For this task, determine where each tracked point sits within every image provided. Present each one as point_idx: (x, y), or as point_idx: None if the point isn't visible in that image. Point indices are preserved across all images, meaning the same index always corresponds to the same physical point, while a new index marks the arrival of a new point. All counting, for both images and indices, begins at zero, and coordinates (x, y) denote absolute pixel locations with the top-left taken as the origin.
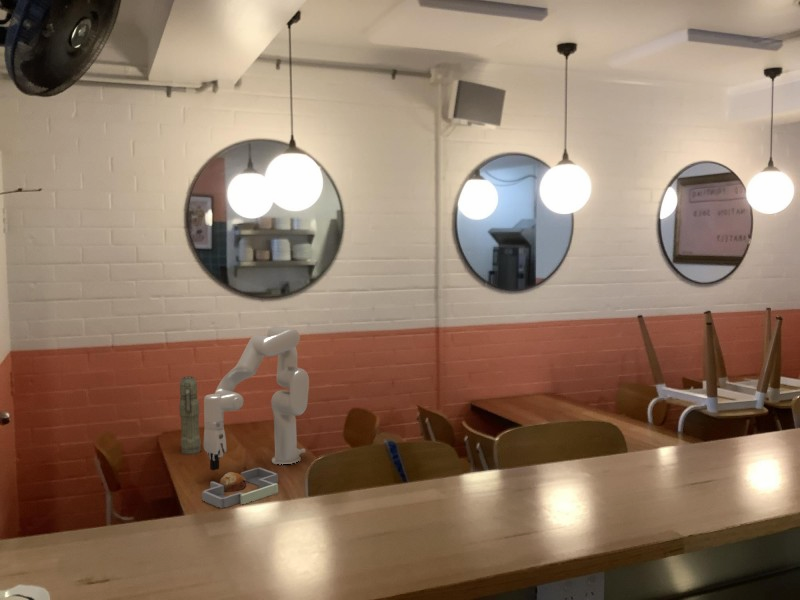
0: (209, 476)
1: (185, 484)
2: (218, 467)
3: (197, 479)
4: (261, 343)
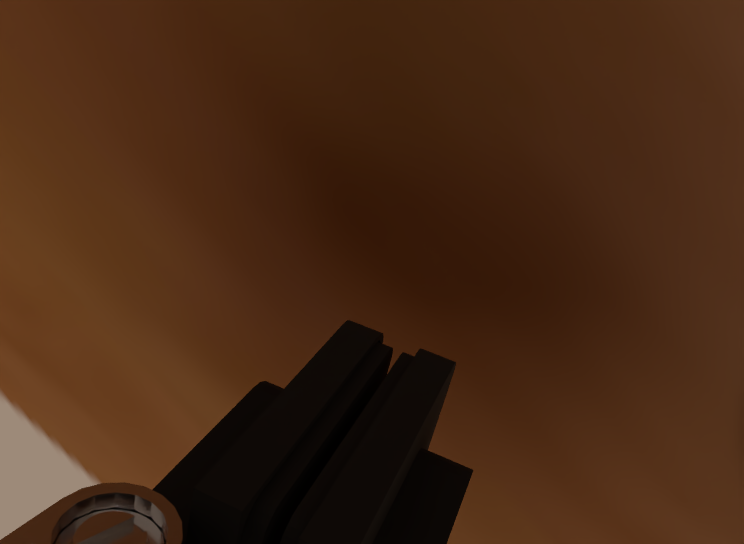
0: (169, 81)
1: None
2: (443, 396)
3: (134, 277)
4: None
